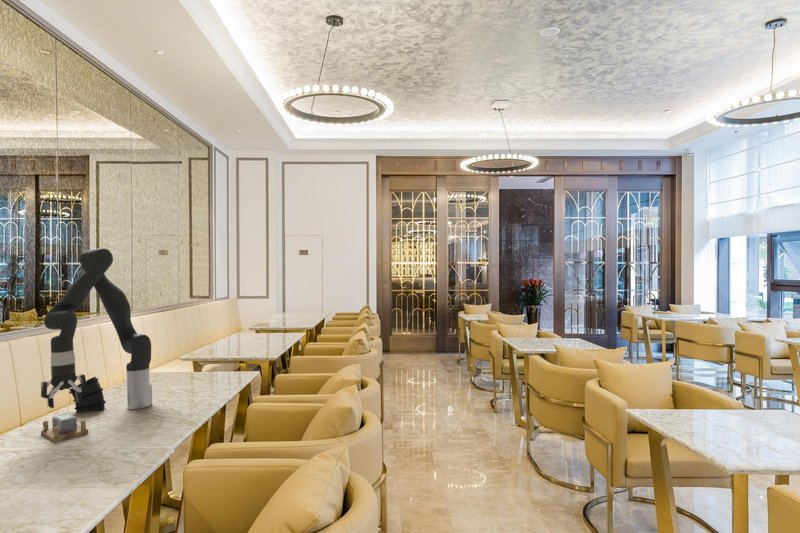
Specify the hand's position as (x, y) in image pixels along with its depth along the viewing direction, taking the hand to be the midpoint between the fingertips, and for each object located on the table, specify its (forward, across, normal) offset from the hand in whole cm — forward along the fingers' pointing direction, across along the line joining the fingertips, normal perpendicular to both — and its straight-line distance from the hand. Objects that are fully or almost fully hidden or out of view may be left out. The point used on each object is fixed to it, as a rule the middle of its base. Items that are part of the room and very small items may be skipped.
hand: (65, 404), depth 180 cm
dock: (+11, 0, 0) cm, 11 cm away
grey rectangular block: (+10, 0, 0) cm, 10 cm away
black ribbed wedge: (+12, -17, -28) cm, 35 cm away
